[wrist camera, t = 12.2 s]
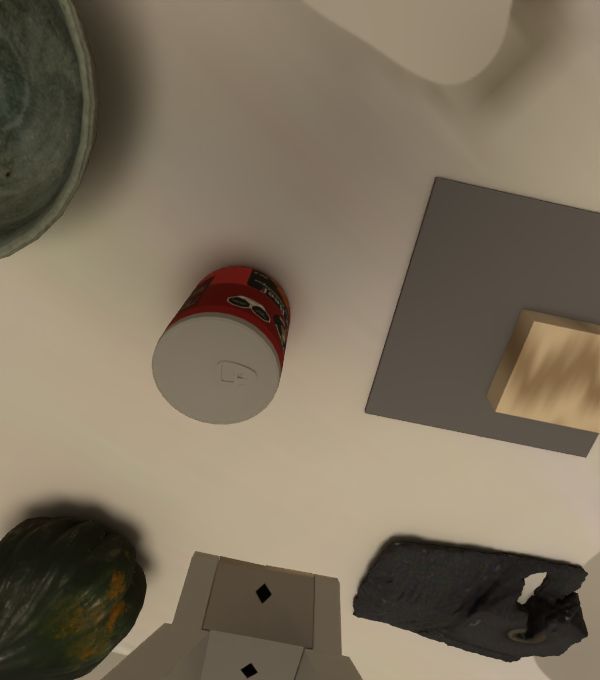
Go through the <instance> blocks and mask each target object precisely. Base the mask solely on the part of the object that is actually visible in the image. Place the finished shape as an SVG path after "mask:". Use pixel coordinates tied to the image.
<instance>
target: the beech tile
mask: <svg viewBox="0 0 600 680" xmlns="http://www.w3.org/2000/svg"><path fill="white" fill-rule="evenodd" d="M486 396H487V398H488V400H489V401H490V403H491V405H492V407H493V409H494V411H495V412H499V413H504V414H508V415H513V416H518V417H523V418H528V419H533V420H538V421H543V422H548V423H553V424H557V425H562V426H567V427H572V428H577V429H582V430H587V431H592V432H597V433H600V325H596V324H591V323H587V322H582V321H577V320H572V319H568V318H563V317H558V316H554V315H549V314H544V313H540V312H535V311H530V310H526V309H522V311H521V314H520V316H519V319H518V321H517V323H516V326H515V328H514V331H513V333H512V335H511V338H510V340H509V343H508V345H507V347H506V350H505V352H504V355H503V357H502V359H501V362H500V364H499V367H498V369H497V371H496V374H495V376H494V379H493V381H492V383H491V386H490V388H489V391H488V393H487V395H486Z"/></svg>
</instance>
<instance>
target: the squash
mask: <svg viewBox="0 0 600 680" xmlns="http://www.w3.org/2000/svg"><path fill="white" fill-rule="evenodd" d="M146 588H147V583H146V579H145V574H144V571H143V570H142V568H141V566H140V565H139V564H138V562H137V561H136V552H135V548H134V546H133V545H132V543H130V542H129V541H128V540H127V539H126V538H124V537H123V536H120V535H113V534H112V535H108V536H105V533H104V530H103V529H102V527H101V526H100V525H99V524H98V523H96V522H95V521H90V520H89V521H86V522H82V523H79V522H78V521H76V520H73V519H70V518H64V517H61V518H55V519H52V518H48V517H37V518H31V519H27V520H25V521H24V522H22V523H20V524H19V525H17V526H16V527H15V528H13V529H12V530H11V531H10V532H9V533H7V534H6V536H5V537H4V538H3V539H2V540H1V541H0V680H74V679H77V678H80V677H82V676H84V675H86V674H88V673H90V672H91V671H92V670H93V669H94V668H95V667H96V666H97V665H98V664H100V663H101V662H102V660H104V659H105V657H106V656H107V655H108V654H109V653H110V652H111V651H112V650H113V649H114V648H115V647H116V646H117V645H118V643H119V642H120V641H121V640H123V639H124V638H125V637H126V636H127V634H128V633H129V632H130V630H131V629H132V627H133V626H134V624H135V622H136V620H137V617H138V615H139V613H140V611H141V609H142V607H143V603H144V599H145V594H146Z"/></svg>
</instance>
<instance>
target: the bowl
mask: <svg viewBox="0 0 600 680" xmlns="http://www.w3.org/2000/svg"><path fill="white" fill-rule="evenodd" d="M98 114H99V92H98V81H97V71H96V65H95V62H94V58H93V55H92V52H91V48H90V45H89V42H88V38H87V35H86V31H85V29H84V26H83V24H82V22H81V19H80V17H79V15H78V13H77V11H76V9H75V7H74V5H73V2H72V0H0V259H1V258H5V257H8V256H10V255H12V254H14V253H15V252H17V251H19V250H20V249H22V248H24V247H25V246H27V245H29V244H30V243H32V242H34V241H35V240H37V239H39V238H40V237H41V236H42V235H43V234H44V233H45V232H46V231H47V230H48V229H49V228H50V227H51V226H52V225H53V224H54V223H55V222H56V221H57V220H58V219H59V218H60V217H61V216H62V214H63V213H64V211H65V209H66V207H67V206H68V204H69V202H70V201H71V199H72V197H73V195H74V194H75V192H76V190H77V188H78V187H79V185H80V183H81V179H82V176H83V174H84V172H85V170H86V167H87V165H88V162H89V158H90V155H91V152H92V148H93V145H94V142H95V138H96V135H97V125H98Z"/></svg>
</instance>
